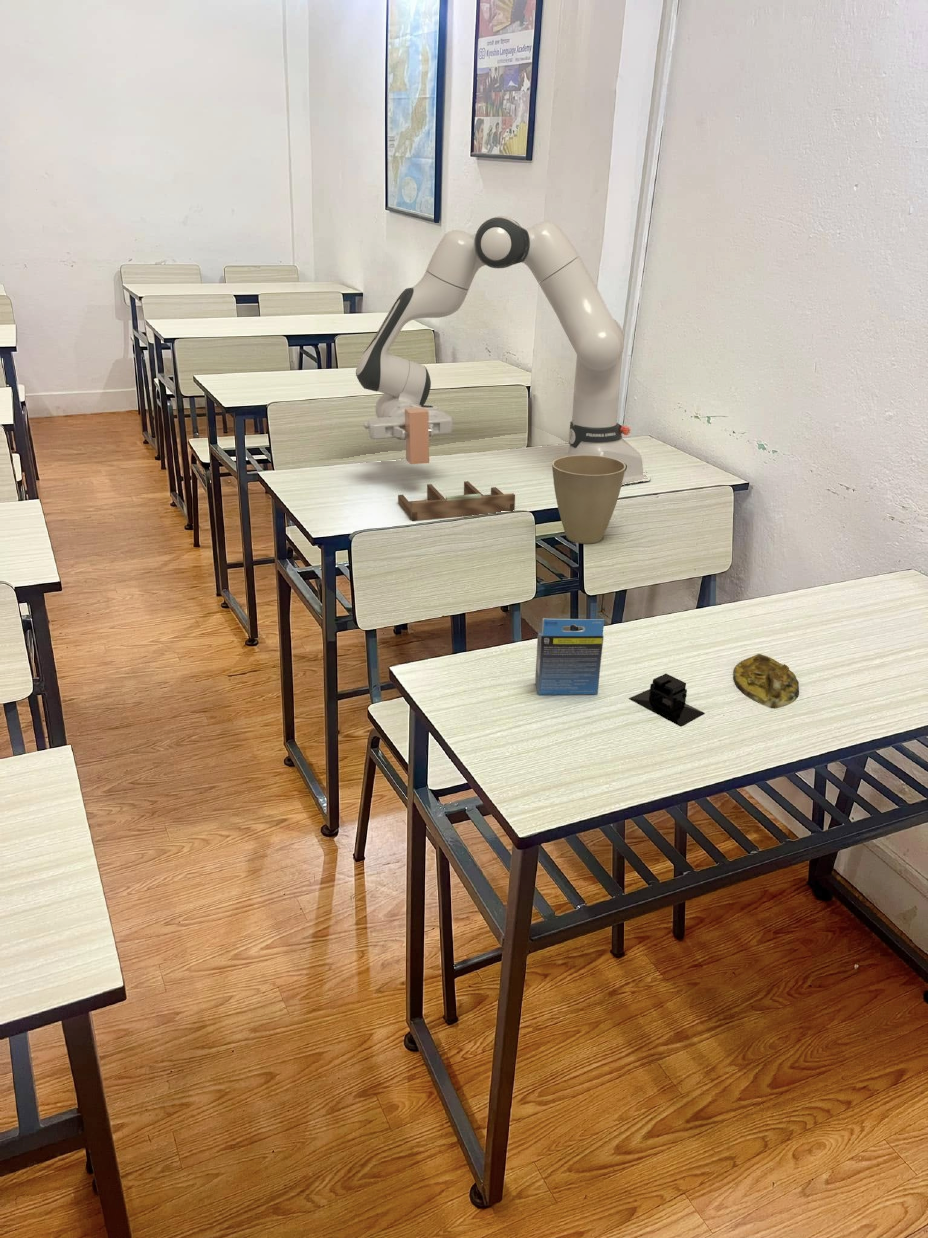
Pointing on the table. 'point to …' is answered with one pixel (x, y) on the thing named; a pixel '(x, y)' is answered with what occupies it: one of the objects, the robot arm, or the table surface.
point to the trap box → (457, 504)
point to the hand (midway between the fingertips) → (418, 433)
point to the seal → (766, 681)
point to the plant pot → (586, 494)
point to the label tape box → (569, 657)
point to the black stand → (668, 700)
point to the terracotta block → (417, 435)
